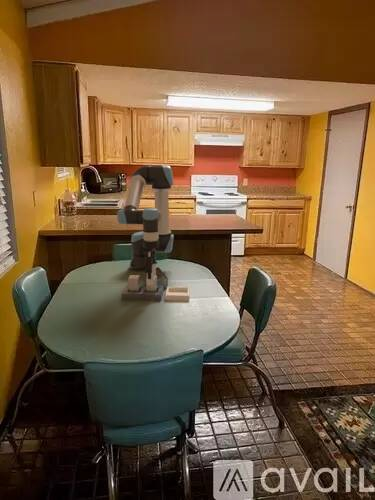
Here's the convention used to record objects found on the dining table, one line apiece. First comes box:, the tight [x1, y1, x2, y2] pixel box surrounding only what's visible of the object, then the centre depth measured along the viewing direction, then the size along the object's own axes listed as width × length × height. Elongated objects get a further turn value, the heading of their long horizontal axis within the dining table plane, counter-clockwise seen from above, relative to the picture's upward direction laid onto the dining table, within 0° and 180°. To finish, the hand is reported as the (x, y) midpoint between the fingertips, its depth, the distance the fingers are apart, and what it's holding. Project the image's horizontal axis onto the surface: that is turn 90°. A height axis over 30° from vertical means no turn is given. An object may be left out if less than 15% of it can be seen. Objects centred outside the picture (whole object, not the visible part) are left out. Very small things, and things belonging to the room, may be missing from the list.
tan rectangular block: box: [145, 276, 157, 292], centre depth 175 cm, size 5×5×10 cm
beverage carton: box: [156, 266, 169, 289], centre depth 194 cm, size 8×19×7 cm, turn 20°
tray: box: [164, 286, 191, 301], centre depth 176 cm, size 12×12×3 cm
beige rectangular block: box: [128, 274, 141, 292], centre depth 175 cm, size 5×5×10 cm
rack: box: [121, 284, 165, 301], centre depth 176 cm, size 12×20×3 cm, turn 89°
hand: (151, 280), depth 174 cm, fingers open, 13 cm apart
